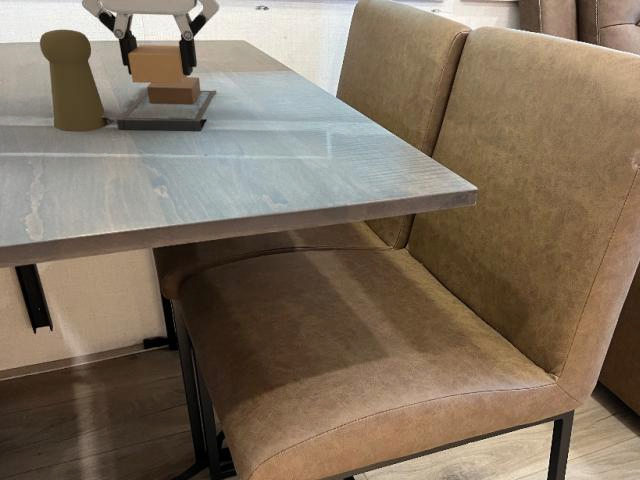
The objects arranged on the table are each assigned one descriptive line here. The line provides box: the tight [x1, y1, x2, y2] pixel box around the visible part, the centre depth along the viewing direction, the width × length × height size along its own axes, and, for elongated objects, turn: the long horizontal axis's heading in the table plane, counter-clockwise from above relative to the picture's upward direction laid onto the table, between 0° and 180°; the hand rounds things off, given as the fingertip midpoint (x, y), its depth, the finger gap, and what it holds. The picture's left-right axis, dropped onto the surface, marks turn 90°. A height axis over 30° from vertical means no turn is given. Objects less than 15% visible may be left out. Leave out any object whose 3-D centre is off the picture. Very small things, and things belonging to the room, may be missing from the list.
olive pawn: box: [39, 29, 109, 133], centre depth 75 cm, size 6×6×11 cm
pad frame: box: [116, 88, 217, 132], centre depth 83 cm, size 10×16×2 cm, turn 7°
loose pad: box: [128, 44, 188, 84], centre depth 77 cm, size 6×6×3 cm
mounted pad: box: [146, 76, 202, 105], centre depth 86 cm, size 6×6×3 cm
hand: (161, 71), depth 77 cm, fingers closed on loose pad, 5 cm apart
